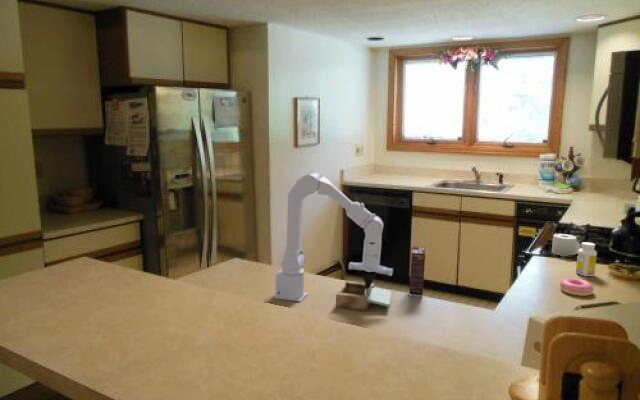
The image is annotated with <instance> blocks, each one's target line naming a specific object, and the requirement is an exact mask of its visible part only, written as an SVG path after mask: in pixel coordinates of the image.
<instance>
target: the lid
mask: <svg viewBox="0 0 640 400" xmlns="http://www.w3.org/2000/svg"><path fill="white" fill-rule="evenodd" d="M373 284H374V283H372V284H371V285H370V287H369V288H368V289H367V293H366V291H365V294H364V296H368V297H367V302H371V303H372V304H377V305H381V306H384V307H390V303H391V296H392V290H388V289H384V288H380V287H376V286H375V287H372V285H373ZM371 303H370V304H371Z"/></svg>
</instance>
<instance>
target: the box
mask: <svg viewBox="0 0 640 400" xmlns="http://www.w3.org/2000/svg"><path fill="white" fill-rule="evenodd" d="M371 284H373V285H372V287H376V284H375V283H373V282H372V283H371ZM365 291H366V285H365V282H363V281H356V280H354V281H353V280H346V281H345V284H344V286H343V287H342V288H341V289H340V291H338V292H337V293H336V294H335V296H336V297H335V308H338V309H345V310H351V311H360V312H365V313H366V311H367V310H368V308H369V306H370V304H371V302H367V297H368V296H364V294H365Z"/></svg>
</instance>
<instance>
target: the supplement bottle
mask: <svg viewBox="0 0 640 400" xmlns="http://www.w3.org/2000/svg"><path fill="white" fill-rule="evenodd" d="M580 244H581V249H579V250H578V256H577V257H576V258H577V259H576V265H575V266H576V268H575V273H576V274H577V273H578V274H580V275H579V276H581V275H584V276H583V277H586V276H592V277H594V276H595V274H596V273H595V272H596V265H597V255H598V253H597V251H596V249H595V247H596V244H595V243H593V242H587V241H586V242H585V241H584V242H583V241H582V242H581V243H580ZM578 274H577V275H578ZM593 275H594V276H593Z"/></svg>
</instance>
